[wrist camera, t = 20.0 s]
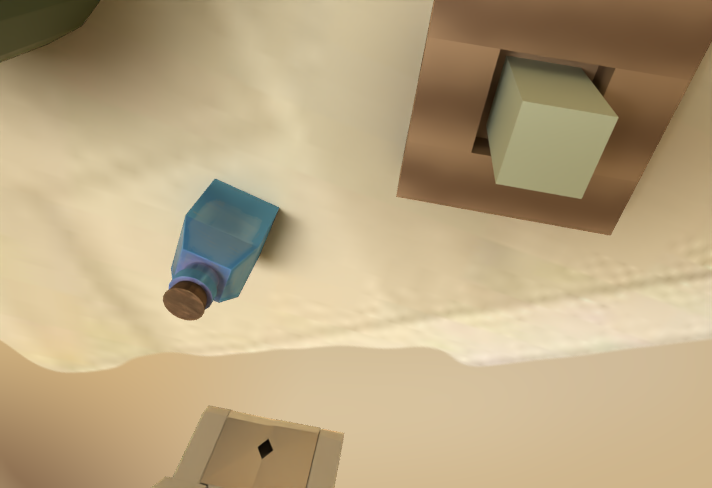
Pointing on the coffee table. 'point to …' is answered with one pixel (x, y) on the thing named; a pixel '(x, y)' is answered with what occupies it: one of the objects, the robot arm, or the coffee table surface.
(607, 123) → the sage plug
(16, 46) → the flower pot
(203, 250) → the perfume bottle
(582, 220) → the walnut stand
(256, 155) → the coffee table surface
